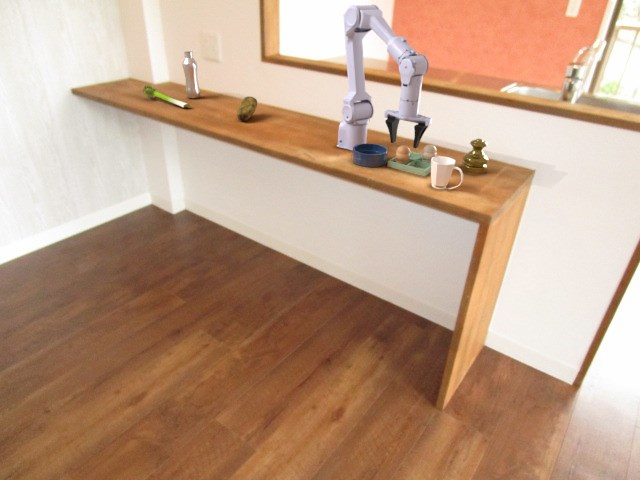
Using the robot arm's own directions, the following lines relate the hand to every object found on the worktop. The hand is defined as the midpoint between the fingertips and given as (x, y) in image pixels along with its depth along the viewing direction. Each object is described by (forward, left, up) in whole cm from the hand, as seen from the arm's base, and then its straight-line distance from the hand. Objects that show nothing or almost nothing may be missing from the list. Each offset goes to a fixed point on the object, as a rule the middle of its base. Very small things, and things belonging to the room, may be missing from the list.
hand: (404, 144), depth 141 cm
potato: (-74, +9, -8) cm, 75 cm away
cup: (+17, -7, -8) cm, 20 cm away
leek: (-118, +4, -8) cm, 118 cm away
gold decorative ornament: (+19, +12, -8) cm, 23 cm away
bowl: (-10, -3, -7) cm, 13 cm away
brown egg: (0, 0, -7) cm, 7 cm away
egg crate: (+3, +3, -7) cm, 8 cm away
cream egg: (+6, +6, -7) cm, 11 cm away
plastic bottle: (-116, +18, -8) cm, 118 cm away
